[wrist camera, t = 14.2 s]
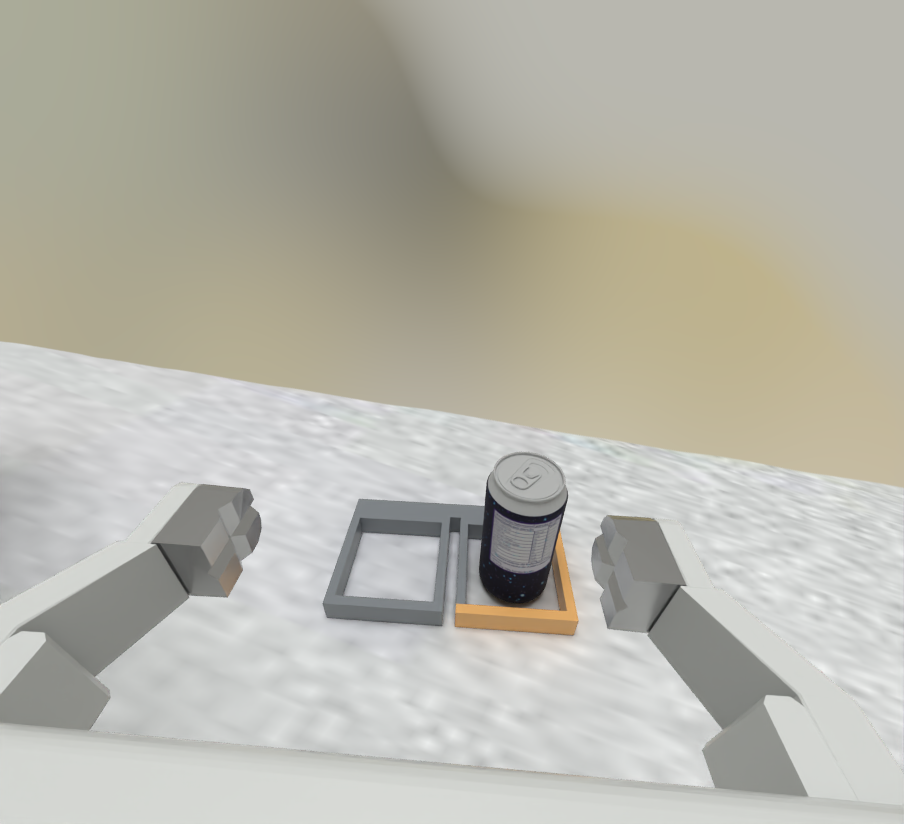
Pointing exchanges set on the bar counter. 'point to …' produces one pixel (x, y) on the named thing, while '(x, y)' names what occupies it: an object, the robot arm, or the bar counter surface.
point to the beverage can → (521, 525)
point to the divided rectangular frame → (440, 572)
